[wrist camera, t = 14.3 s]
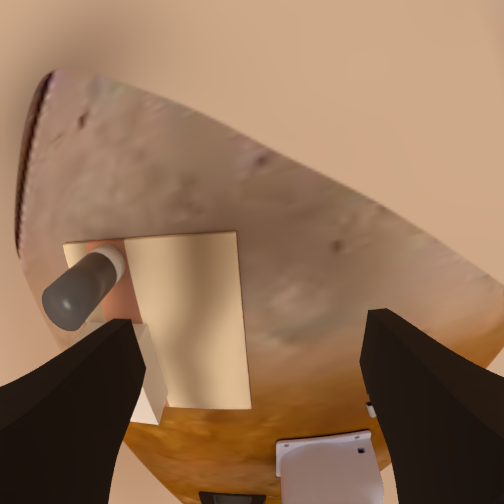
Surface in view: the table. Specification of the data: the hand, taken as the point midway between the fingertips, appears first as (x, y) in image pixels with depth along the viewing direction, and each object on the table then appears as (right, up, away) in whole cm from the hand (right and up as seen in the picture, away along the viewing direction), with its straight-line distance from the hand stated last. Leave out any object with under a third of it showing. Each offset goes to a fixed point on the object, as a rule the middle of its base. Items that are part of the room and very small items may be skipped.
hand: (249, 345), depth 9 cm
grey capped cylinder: (-9, +2, +10) cm, 13 cm away
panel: (-6, -3, +12) cm, 14 cm away
